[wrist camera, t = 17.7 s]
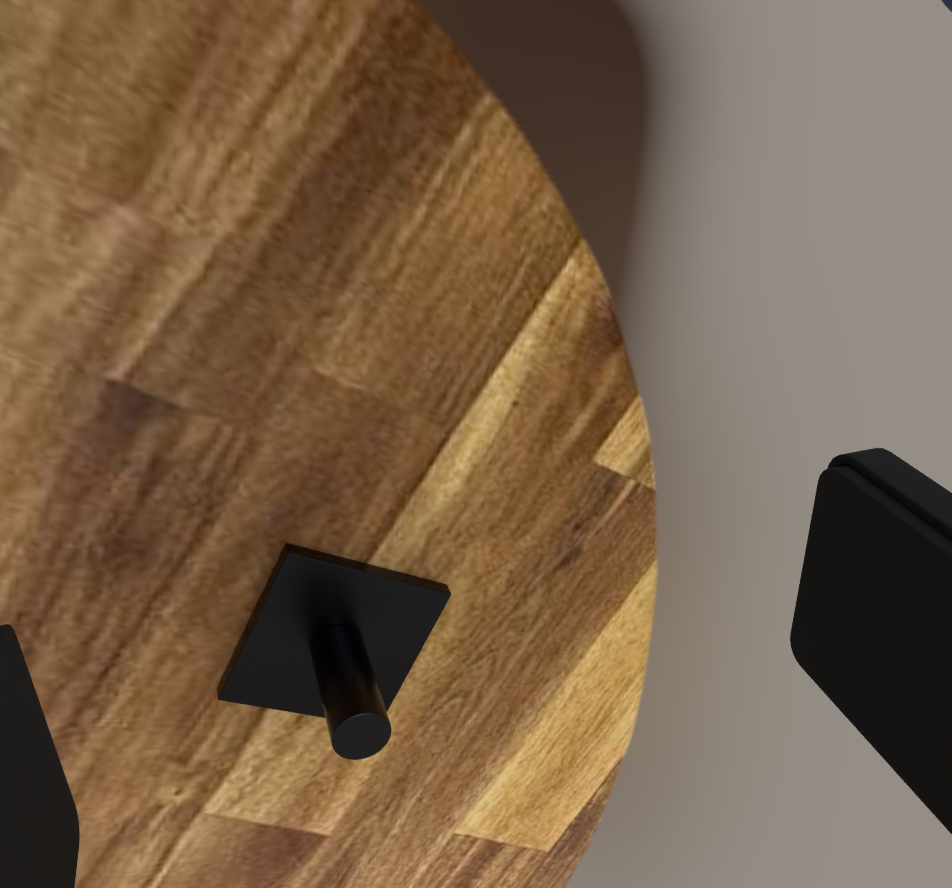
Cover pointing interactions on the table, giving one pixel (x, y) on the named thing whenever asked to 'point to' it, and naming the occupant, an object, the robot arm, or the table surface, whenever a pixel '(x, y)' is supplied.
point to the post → (333, 644)
